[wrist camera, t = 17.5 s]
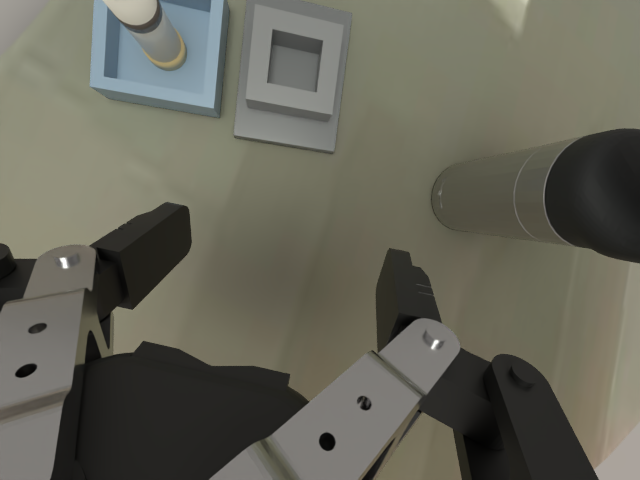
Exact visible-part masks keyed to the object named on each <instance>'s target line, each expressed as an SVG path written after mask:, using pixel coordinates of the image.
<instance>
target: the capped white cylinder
mask: <svg viewBox="0 0 640 480" xmlns="http://www.w3.org/2000/svg"><path fill="white" fill-rule="evenodd" d="M103 2H104V3H105V4H106V5H107V6H108V8H109V9H110V10H111V11H112V13H113V14H114V15H115V16H116V18H117V19H118V20H119V21H120V22H121V24H122V25H123V26H124V27H125V28H126V29H127V30H128V31H129V33H130V34H131V35H132V36H133V37H134V39H135V40H136V41H137V42H138V43H139V45H140V46H141V47H142V50H143V52H144V53H145V55H146V56H147V57H148V58H149V60H150V61H151V62H152V63H153V64H154V65H155V66H156V67H158V68H160V69H162V70H165V71H174V70H177V69H179V68H180V67H181V66H182V65H183V64H184V63H185V61H186V58H187V48H186V45H185V43H184V41H183V39H182V37H181V36H180V34H179V32H178V31H177V30H176V29H175V28H174V27H173V25H172V23H171V22H170V20H169V18H168V16H167V15H166V13H165V11H164V9H163V7H162V6H161V4H160V1H159V0H103Z"/></svg>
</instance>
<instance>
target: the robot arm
mask: <svg viewBox="0 0 640 480" xmlns="http://www.w3.org/2000/svg"><path fill="white" fill-rule="evenodd" d="M432 206H433V210H434V213H435V215H436V216H437V218H438V219H439V221H440V222H441V223H442V224H444V225H445V226H447V227H448V228H451V229H454V230H460V231H467V232H474V233H480V234H487V235H495V236H502V237H509V238H516V239H523V240H531V241H538V242H545V243H553V244H561V245H568V246H575V247H582V248H589V249H593V250H594V251H596V252H598V253H600V254H602V255H605V256H608V257H611V258H615V259H619V260H624V261H630V262H635V263H640V129H616V130H610V131H605V132H601V133H596V134H592V135H588V136H583V137H579V138H574V139H569V140H565V141H560V142H556V143H551V144H547V145H543V146H538V147H534V148H529V149H525V150H520V151H515V152H511V153H506V154H502V155H497V156H492V157H488V158H483V159H478V160H474V161H469V162H465V163H460V164H456V165H453V166H451V167H449V168H447V169H446V170H445V171H444V172H443V173H442V174H441V175H440V176H439V177H438V179H437V181H436V183H435V185H434V188H433V191H432ZM191 242H192V239H191V226H190V214H189V209H188V207H187V206H184V205H179V204H174V203H169V202H166V203H164V204H162V205H161V206H159V207H157V208H156V209H154V210H153V211H150V212H147V213H144V214H141V215H138V216H136V217H134V218H133V219H131V220H130V221H128V222H127V224H123V225H122V226H120V227H118V229H115V230H114V231H112V232H110V233H109V234H107V235H106V236H104V237H102V238H101V239H99V240H98V241H96V242H94V243H93V244H91V245H90V246H86V245H67V246H61V247H58V248H54V249H52V250H49V251H47V252H45V253H44V254H42V255H41V256H39V258H38V259H14V258H13V255H12V253H11V251H10V249H9V247H8V246H7V245H4V244H1V243H0V480H376V478H377V477H378V476H379V474H380V473H381V471H382V470H383V468H384V466H385V465H386V463H387V462H388V460H389V459H390V457H391V456H392V454H393V453H394V452H395V450H396V449H397V448H398V446H399V445H400V443H401V442H402V441H403V439H404V438H405V437H406V435H407V434H408V432H409V431H410V430H411V428H412V427H413V426H414V424H415V423H416V422H417V420H418V419H419V417H420V416H421V415H422V413H423V412H424V413H426V414H427V415H429V416H431V417H433V418H435V419H436V420H438V421H440V422H442V423H444V424H445V425H447V426H449V427H451V428H453V433H454V438H455V444H456V449H457V455H458V460H459V466H460V471H461V477H462V480H599V479H598V477H597V475H596V473H595V471H594V470H593V468H592V466H591V464H590V462H589V460H588V458H587V456H586V454H585V452H584V450H583V448H582V446H581V445H580V443H579V441H578V439H577V437H576V435H575V433H574V431H573V429H572V427H571V425H570V423H569V421H568V419H567V418H566V416H565V414H564V412H563V410H562V408H561V406H560V404H559V402H558V400H557V398H556V396H555V394H554V392H553V391H552V389H551V387H550V385H549V383H548V381H547V380H546V379H545V377H544V376H543V375H542V374H541V373H540V372H539V371H538V370H537V369H536V368H535V367H533V366H532V365H531V364H529V363H528V362H526V361H524V360H522V359H521V358H518V357H516V356H513V355H508V354H499V355H497V356H495V357H494V359H493V360H492V361H491V362H489V361H486V360H484V359H482V358H480V357H478V356H476V355H474V354H471V353H469V352H467V351H465V350H464V349H462V348H461V347H460V343H459V340H458V338H457V337H456V335H455V334H454V333H453V332H452V331H451V330H450V329H449V328H448V327H446V326H445V325H443V324H442V322H441V318H440V315H439V311H438V308H437V305H436V301H435V298H434V296H433V295H434V294H433V291H432V288H431V284H430V281H429V277H428V276H427V275H426V274H425V272H424V271H423V270H422V269H421V268H420V267H415V266H412V262H411V257H410V253H409V252H406V251H401V250H396V249H391V248H389V250H388V252H387V254H386V257H385V260H384V264H383V267H382V270H381V273H380V276H379V279H378V283H377V288H376V319H377V348H378V354H376V353H375V352H374V351H369V352H367V353H366V354H365V355H363V356H362V357H361V358H360V359H359V360H358V361H357V362H355V363H354V364H353V365H352V366H351V367H350V368H348V369H347V370H346V371H345V372H344V373H343V374H341V375H340V376H339V377H338V378H337V379H336V380H335V381H333V382H332V383H331V384H330V385H329V386H328V387H326V388H325V389H324V390H323V391H322V392H321V393H319V394H318V395H317V396H316V397H315V398H314V399H313V400H311V401H310V402H309V401H308V400H307V399H306V398H305V397H303V396H302V395H301V394H299V393H298V392H297V391H295V390H293V389H292V388H290V387H288V384H289V378H290V374H287V373H282V372H278V371H273V370H269V369H265V368H260V367H256V366H210V365H208V364H206V363H204V362H202V361H200V360H198V359H197V358H195V357H193V356H191V355H189V354H187V353H185V352H183V351H182V350H180V349H177V348H172V347H168V346H163V345H159V344H154V343H150V342H146V341H143V342H142V343H141V344H140V346H139V347H138V348H137V349H136V350H135V352H134V353H123V354H116V355H113V342H114V315H113V312H112V311H113V310H114V309H115V308H116V307H117V306H118V307H122V308H127V309H131V310H133V309H134V308H135V307H136V306H137V305H138V304H139V303H140V302H141V301H142V300H143V299H144V298H145V297H146V296H147V295H148V294H149V293H150V292H151V291H152V290H153V289H154V288H155V287H156V286H157V285H158V283H159V282H160V281H161V280H162V279H163V278H164V277H165V276H166V275H167V274H168V273H169V272H170V271H171V270H172V269H173V268H174V267H175V266H176V265H177V264H178V263H179V262H180V261H181V260H182V259H183V258H184V257H185V256H186V255H187V254H188V252H189V250H190V247H191Z"/></svg>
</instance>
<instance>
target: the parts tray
mask: <svg viewBox="0 0 640 480" xmlns="http://www.w3.org/2000/svg"><path fill="white" fill-rule="evenodd" d="M159 1H160V4H161V6H162V7H163V9H164V11H165V13H166V15H167V16H168V18H169V20H170V22H171V23H172V25H173V27H174V28H175V29H176V30H177V31H178V32H179V34H180V36H181V37H182V39H183V41H184V43H185V45H186V48H187V58H186V61H185V63H184V64H183V65H182V66H181V67H180V68H179V69H177V70H174V71H165V70H162V69H160V68H158V67H156V66H155V65H154V64H153V63H152V62H151V61H150V60H149V58H148V57H147V56H146V55H145V53H144V52H143V50H142V47H141V46H140V45H139V43H138V42H137V41H136V40H135V39H134V37H133V36H132V35H131V34H130V33H129V31H128V30H127V29H126V28H125V27H124V26H123V25H122V24H121V22H120V21H119V20H118V19H117V18H116V16H115V15H114V14H113V13H112V11H111V10H110V9H109V8H108V6H107V5H106V4H105V3H104V2H103V0H94V13H93V33H92V53H91V72H90V87H91V88H93V89H95V90H96V91H98V92H99V93H101V94H102V95H104V96H105V97H107V98H108V99H114V100H119V101H125V102H131V103H137V104H142V105H148V106H154V107H160V108H165V109H171V110H177V111H183V112H189V113H194V114H200V115H206V116H212V117H217V118H220V108H221V97H222V86H223V75H224V64H225V54H226V43H227V32H228V21H229V6H228V2H227V0H159Z"/></svg>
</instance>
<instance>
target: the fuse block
mask: <svg viewBox="0 0 640 480" xmlns="http://www.w3.org/2000/svg"><path fill="white" fill-rule="evenodd" d="M351 19H352V13H350V12H346V11H342V10H338V9H334V8H329V7H325V6H321V5H317V4H313V3H309V2H305V1H301V0H247V2H246V12H245V23H244V33H243V43H242V53H241V64H240V74H239V84H238V94H237V104H236V115H235V125H234V137H235V138H239V139H245V140H251V141H257V142H263V143H270V144H276V145H282V146H288V147H294V148H300V149H306V150H312V151H318V152H324V153H331V154H332V153H333V152H334V149H335V142H336V134H337V126H338V119H339V111H340V103H341V96H342V88H343V80H344V73H345V65H346V57H347V50H348V42H349V34H350V27H351Z"/></svg>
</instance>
